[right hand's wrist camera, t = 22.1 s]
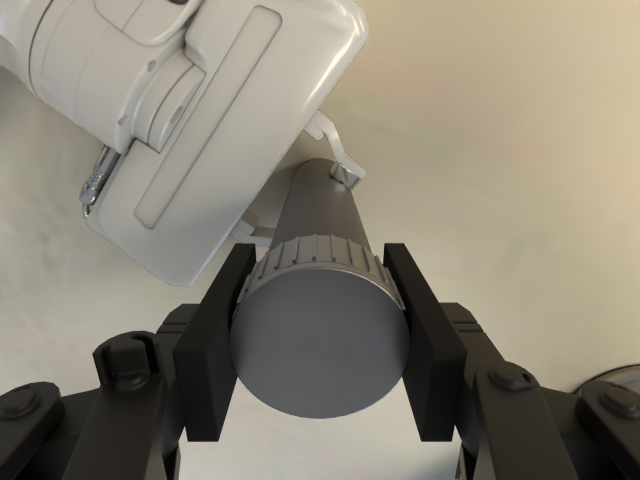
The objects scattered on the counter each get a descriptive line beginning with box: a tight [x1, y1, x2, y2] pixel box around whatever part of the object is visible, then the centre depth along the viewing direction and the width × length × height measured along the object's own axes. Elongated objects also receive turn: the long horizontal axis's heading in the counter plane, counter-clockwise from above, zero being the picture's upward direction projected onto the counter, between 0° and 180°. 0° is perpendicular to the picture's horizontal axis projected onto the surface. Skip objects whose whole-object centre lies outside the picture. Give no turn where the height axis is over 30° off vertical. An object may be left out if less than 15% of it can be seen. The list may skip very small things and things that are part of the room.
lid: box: [229, 234, 411, 419], centre depth 11 cm, size 5×5×2 cm
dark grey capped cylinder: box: [268, 158, 372, 253], centre depth 20 cm, size 4×4×20 cm
